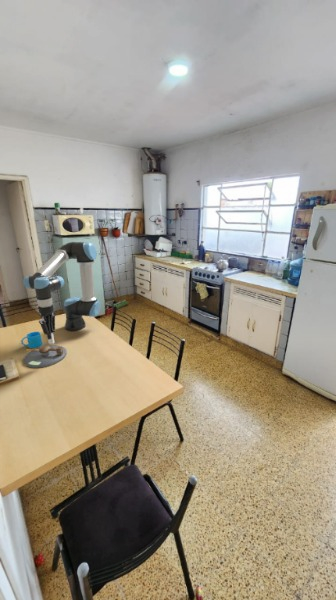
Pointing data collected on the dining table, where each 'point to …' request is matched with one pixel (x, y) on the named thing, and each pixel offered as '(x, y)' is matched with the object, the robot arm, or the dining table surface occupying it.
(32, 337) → the mug
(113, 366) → the dining table surface
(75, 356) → the dining table surface
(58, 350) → the dial arm
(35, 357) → the dial plate
